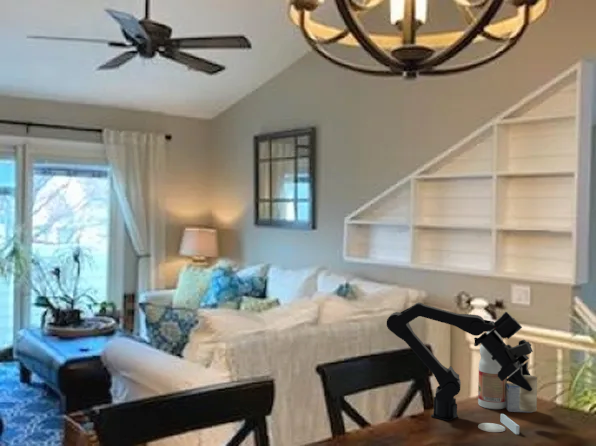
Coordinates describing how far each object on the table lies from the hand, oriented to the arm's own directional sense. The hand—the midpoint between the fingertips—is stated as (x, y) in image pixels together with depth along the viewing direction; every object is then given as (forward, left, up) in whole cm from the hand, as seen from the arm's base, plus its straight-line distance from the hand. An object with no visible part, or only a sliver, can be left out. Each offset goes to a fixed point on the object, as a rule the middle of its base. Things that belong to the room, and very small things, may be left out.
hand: (533, 388), depth 205 cm
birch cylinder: (-1, 0, -7) cm, 7 cm away
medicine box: (-10, +16, -13) cm, 23 cm away
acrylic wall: (-5, -4, -12) cm, 14 cm away
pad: (-9, -8, -12) cm, 18 cm away
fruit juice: (-19, +15, -13) cm, 27 cm away
